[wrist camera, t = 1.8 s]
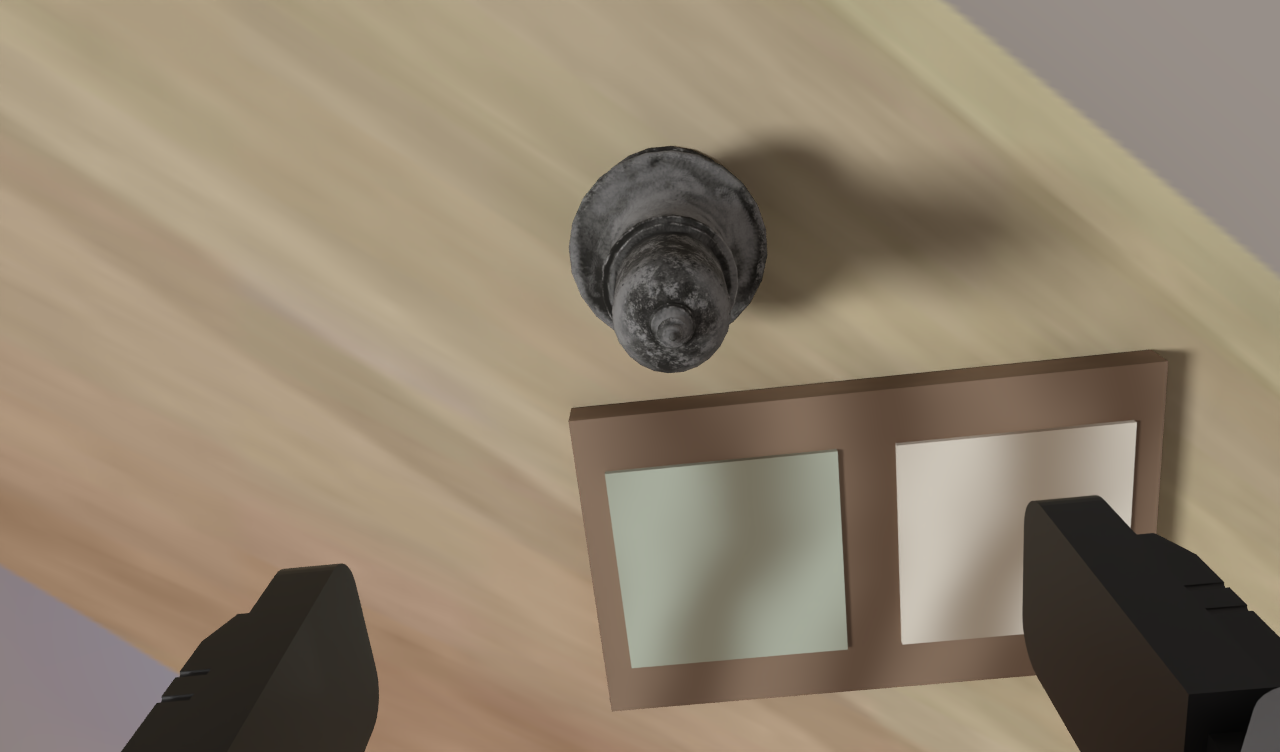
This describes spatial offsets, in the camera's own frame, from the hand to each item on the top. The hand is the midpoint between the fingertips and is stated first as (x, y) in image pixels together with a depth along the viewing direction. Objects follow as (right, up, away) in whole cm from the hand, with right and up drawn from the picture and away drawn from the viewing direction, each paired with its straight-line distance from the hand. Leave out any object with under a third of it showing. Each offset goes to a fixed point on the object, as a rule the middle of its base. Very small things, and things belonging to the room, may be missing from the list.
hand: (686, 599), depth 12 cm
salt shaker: (0, +8, +21) cm, 22 cm away
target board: (+8, -3, +25) cm, 26 cm away
